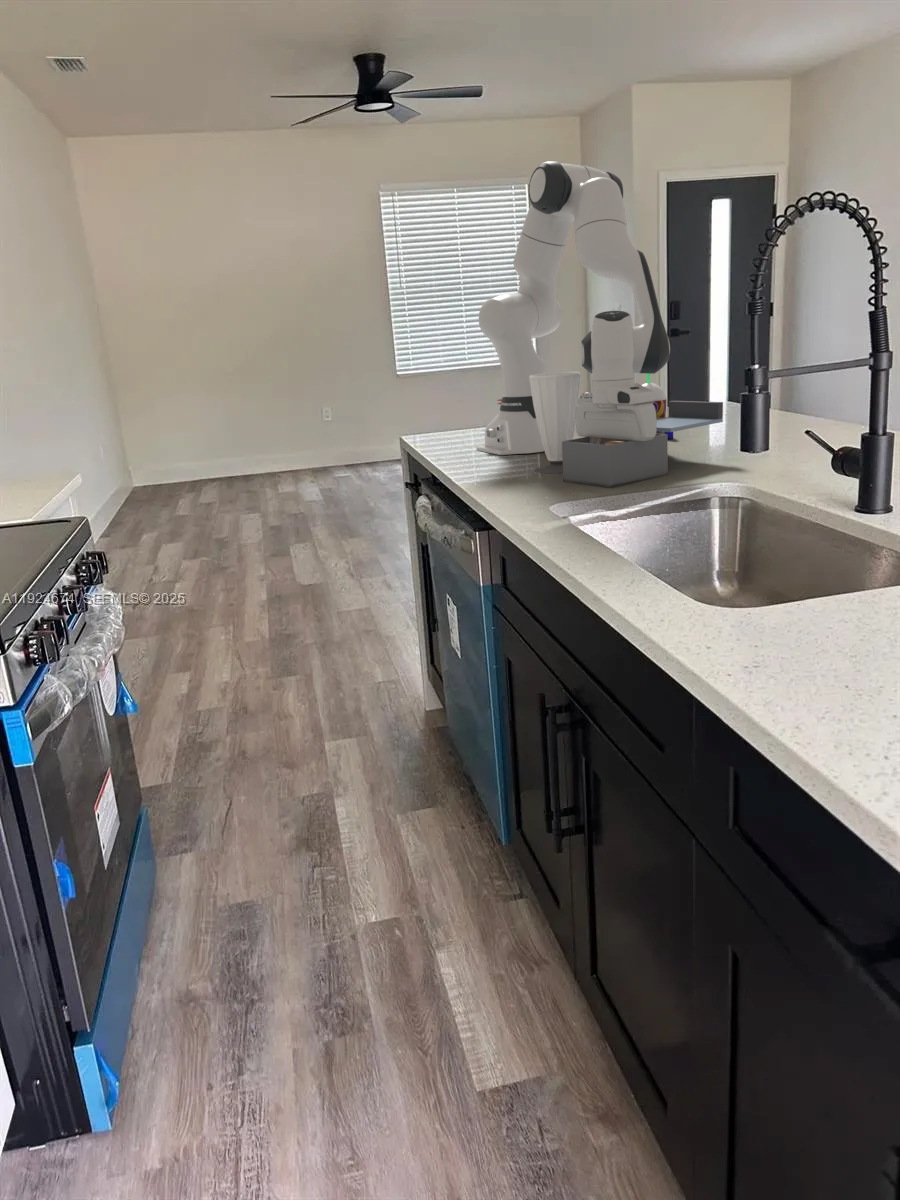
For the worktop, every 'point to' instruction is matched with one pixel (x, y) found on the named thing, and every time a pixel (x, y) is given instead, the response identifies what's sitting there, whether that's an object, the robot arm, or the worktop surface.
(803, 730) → the worktop surface
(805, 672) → the worktop surface
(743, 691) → the worktop surface
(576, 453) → the box
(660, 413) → the smoothie
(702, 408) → the lid
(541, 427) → the cup
